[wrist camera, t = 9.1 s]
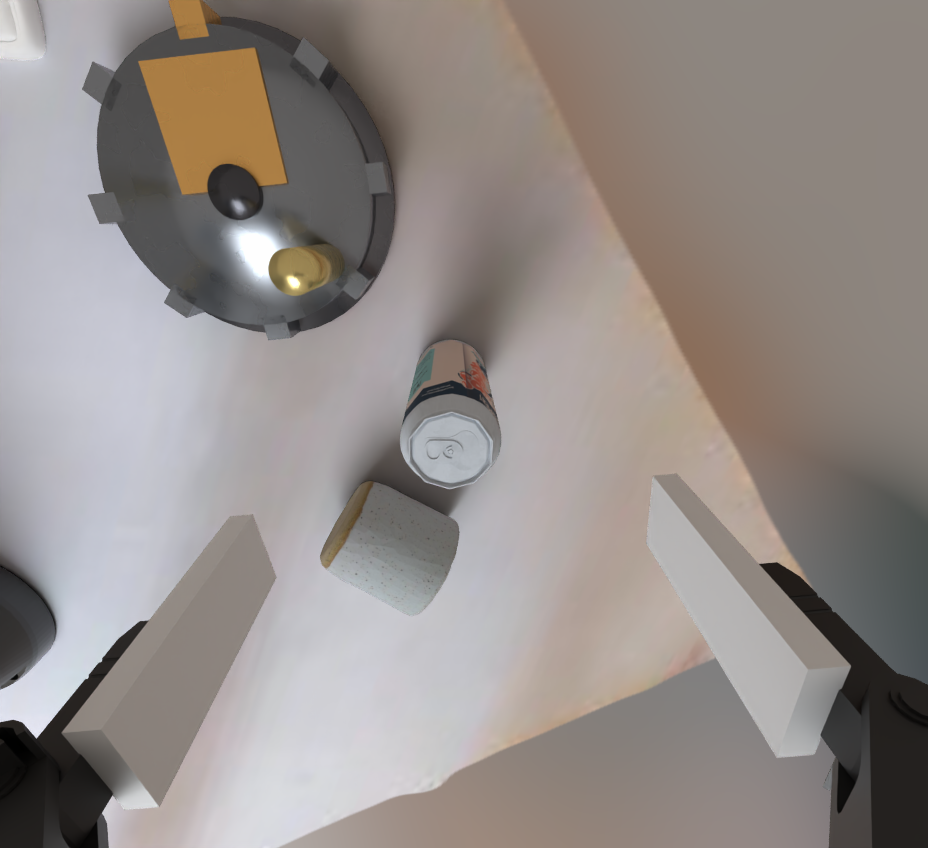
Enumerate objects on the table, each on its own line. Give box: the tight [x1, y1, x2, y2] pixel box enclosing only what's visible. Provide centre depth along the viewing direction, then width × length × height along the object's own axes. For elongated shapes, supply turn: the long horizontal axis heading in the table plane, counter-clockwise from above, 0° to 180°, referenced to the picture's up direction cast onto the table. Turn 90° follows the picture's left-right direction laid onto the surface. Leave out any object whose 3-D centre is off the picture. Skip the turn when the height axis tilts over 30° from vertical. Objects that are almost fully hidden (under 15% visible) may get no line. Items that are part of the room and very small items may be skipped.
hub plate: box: [173, 17, 395, 332], centre depth 25 cm, size 16×16×1 cm
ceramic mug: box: [320, 481, 459, 616], centre depth 32 cm, size 11×8×8 cm
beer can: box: [400, 340, 501, 489], centre depth 25 cm, size 5×5×12 cm
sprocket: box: [82, 0, 392, 340], centre depth 21 cm, size 16×16×8 cm
